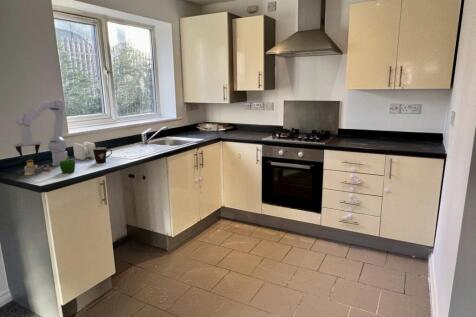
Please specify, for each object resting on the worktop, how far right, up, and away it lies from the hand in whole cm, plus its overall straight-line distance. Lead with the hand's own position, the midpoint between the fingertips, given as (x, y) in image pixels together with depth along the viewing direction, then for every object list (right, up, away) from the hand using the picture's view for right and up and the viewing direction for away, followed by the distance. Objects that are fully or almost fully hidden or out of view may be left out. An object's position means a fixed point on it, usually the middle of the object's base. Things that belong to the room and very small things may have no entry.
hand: (29, 157), depth 198 cm
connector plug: (0, -8, +2) cm, 9 cm away
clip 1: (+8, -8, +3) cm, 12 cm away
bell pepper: (+24, -10, -1) cm, 26 cm away
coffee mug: (+34, -3, +28) cm, 44 cm away
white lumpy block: (+15, -1, +40) cm, 43 cm away
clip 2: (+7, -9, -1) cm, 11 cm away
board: (+4, -9, +3) cm, 10 cm away
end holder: (0, -8, +2) cm, 9 cm away
